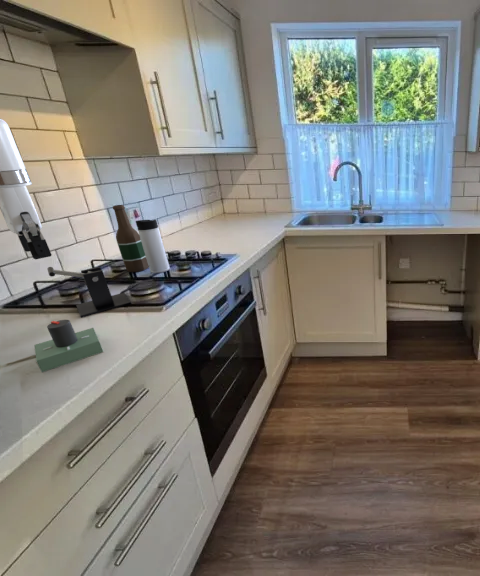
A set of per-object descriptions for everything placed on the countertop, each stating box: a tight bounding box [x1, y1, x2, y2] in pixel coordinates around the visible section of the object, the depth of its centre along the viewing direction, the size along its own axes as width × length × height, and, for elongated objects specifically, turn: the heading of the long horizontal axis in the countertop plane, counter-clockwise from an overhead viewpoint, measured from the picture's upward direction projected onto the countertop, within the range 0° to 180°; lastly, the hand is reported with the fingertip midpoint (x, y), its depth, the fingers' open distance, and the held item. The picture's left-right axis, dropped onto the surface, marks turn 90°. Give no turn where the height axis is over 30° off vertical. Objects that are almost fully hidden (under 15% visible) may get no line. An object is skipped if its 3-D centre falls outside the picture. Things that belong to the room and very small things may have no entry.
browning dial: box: [46, 319, 78, 347], centre depth 82 cm, size 4×4×5 cm
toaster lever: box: [47, 266, 93, 279], centre depth 100 cm, size 11×6×2 cm, turn 135°
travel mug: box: [135, 219, 171, 274], centre depth 129 cm, size 6×7×20 cm
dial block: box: [34, 327, 104, 373], centre depth 84 cm, size 11×9×3 cm
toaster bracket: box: [75, 266, 132, 319], centre depth 104 cm, size 12×10×12 cm
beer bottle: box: [112, 204, 150, 273], centre depth 133 cm, size 8×8×24 cm
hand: (38, 253), depth 86 cm, fingers open, 9 cm apart
